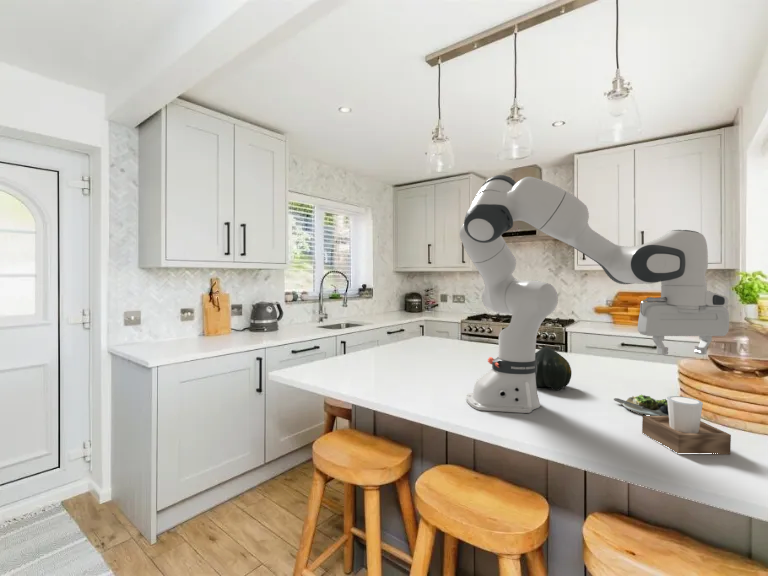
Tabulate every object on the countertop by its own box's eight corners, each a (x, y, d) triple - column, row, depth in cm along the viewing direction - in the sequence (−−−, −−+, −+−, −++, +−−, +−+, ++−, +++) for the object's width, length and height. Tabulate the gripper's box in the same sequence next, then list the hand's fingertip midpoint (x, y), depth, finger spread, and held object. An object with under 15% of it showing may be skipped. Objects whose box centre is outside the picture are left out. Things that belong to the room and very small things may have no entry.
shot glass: (686, 435, 90) (686, 405, 90) (659, 424, 97) (660, 396, 97) (709, 432, 92) (710, 403, 92) (681, 422, 99) (682, 394, 98)
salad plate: (606, 410, 118) (607, 395, 118) (621, 397, 131) (621, 383, 131) (687, 428, 105) (688, 411, 105) (694, 411, 118) (695, 396, 118)
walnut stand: (678, 454, 88) (678, 435, 88) (642, 433, 100) (642, 415, 100) (730, 454, 89) (730, 434, 89) (688, 432, 101) (688, 415, 101)
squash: (554, 380, 130) (567, 343, 136) (514, 373, 142) (528, 339, 148) (569, 402, 137) (581, 366, 143) (530, 394, 148) (543, 360, 155)
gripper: (650, 298, 91) (648, 356, 92) (735, 298, 92) (733, 356, 92) (632, 296, 98) (631, 351, 98) (712, 296, 98) (710, 351, 99)
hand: (681, 354), depth 95 cm, fingers open, 8 cm apart
